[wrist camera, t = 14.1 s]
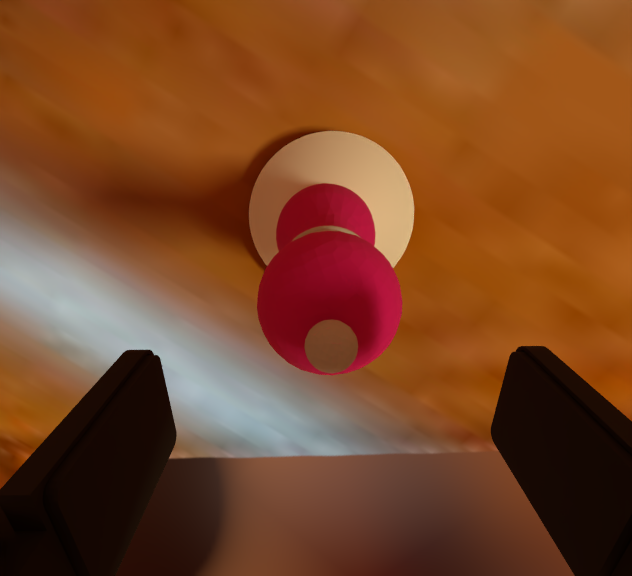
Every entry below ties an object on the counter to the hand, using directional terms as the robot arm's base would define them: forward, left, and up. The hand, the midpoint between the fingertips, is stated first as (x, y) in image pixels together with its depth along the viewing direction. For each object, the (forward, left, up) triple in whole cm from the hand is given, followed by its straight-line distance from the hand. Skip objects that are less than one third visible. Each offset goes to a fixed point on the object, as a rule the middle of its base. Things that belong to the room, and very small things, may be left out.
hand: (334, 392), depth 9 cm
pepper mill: (0, 0, -22) cm, 22 cm away
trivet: (+1, 0, -23) cm, 23 cm away
